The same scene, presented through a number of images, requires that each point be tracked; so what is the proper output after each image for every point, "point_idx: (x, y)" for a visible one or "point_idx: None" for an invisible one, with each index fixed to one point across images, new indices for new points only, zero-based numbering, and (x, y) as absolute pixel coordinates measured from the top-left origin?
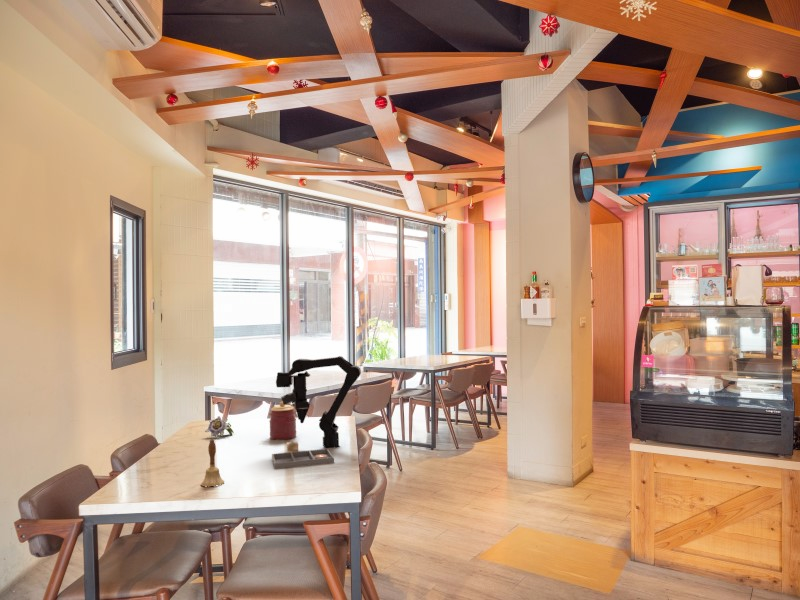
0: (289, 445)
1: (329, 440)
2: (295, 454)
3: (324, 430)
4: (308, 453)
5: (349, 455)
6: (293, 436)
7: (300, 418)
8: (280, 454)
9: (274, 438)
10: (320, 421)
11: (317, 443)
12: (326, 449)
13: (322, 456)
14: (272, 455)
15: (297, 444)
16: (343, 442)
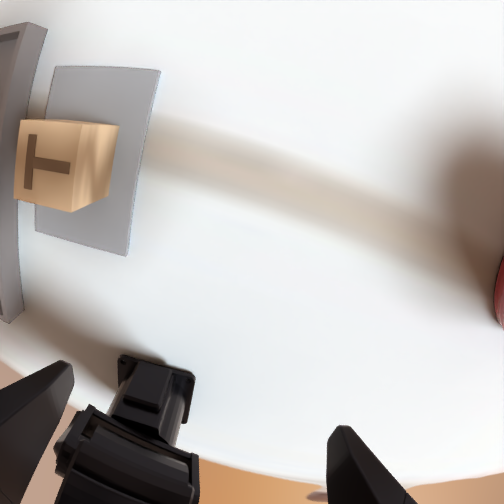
0: (23, 133)
1: (113, 400)
2: (3, 154)
3: (75, 423)
4: (2, 225)
5: (4, 357)
6: (497, 312)
7: (11, 389)
8: (12, 69)
9: None
10: (69, 468)
11: (285, 375)
12: (3, 314)
13: None
14: (5, 27)
15: (16, 191)
16: (221, 446)
